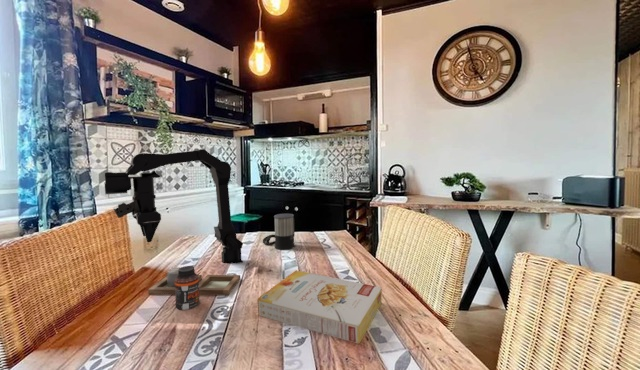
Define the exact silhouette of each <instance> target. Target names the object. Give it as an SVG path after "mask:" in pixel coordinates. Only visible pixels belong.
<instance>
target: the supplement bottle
mask: <svg viewBox="0 0 640 370" xmlns="http://www.w3.org/2000/svg"><path fill="white" fill-rule="evenodd" d="M178 268H179V269H178V274H179V275H178V276H177V277H176V279H175V294H174V295H175V308H176V310H180V311H187V310H188V311H189V310H192V309H194V308H195V307H198V306H199V304H200V303H201V302H200V301H201V300H200V296H201V295H199V282H200V281H199V277H198V275H199V274H197V273H196V272H195V271H196V270H195V266H193V265H185V266H181V267H178Z"/></svg>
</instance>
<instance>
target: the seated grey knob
mask: <svg viewBox="0 0 640 370" xmlns="http://www.w3.org/2000/svg"><path fill="white" fill-rule="evenodd" d="M179 268H180V267H174V268H170V269H169V270H168V272H167V273H166V276H167V284H168V287H175V279H176V277H177V276H178V275H179V274H178V269H179Z"/></svg>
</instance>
